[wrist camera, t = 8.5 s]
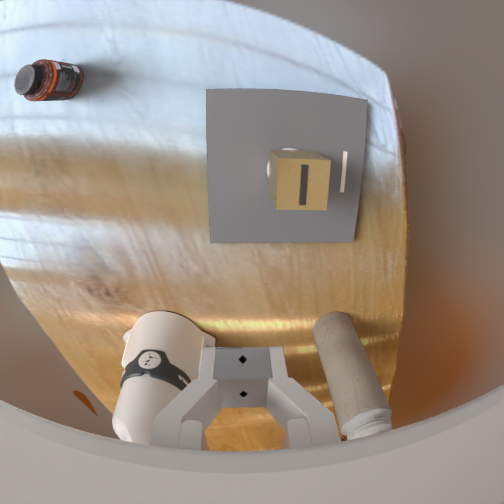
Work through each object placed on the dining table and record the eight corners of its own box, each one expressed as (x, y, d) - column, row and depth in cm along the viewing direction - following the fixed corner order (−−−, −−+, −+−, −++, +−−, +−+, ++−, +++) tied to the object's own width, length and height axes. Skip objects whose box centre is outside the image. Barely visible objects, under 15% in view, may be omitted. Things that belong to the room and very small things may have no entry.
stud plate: (349, 238, 44) (373, 267, 36) (211, 239, 43) (205, 270, 35) (363, 100, 34) (395, 98, 26) (207, 90, 33) (197, 82, 25)
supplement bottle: (83, 59, 29) (40, 49, 19) (85, 93, 31) (41, 91, 21) (53, 72, 29) (9, 69, 18) (55, 105, 31) (10, 109, 21)
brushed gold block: (309, 191, 38) (326, 211, 30) (268, 190, 37) (276, 210, 30) (311, 151, 35) (331, 160, 28) (269, 149, 35) (278, 158, 27)
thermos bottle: (337, 344, 55) (377, 463, 30) (305, 337, 53) (337, 468, 28) (358, 316, 52) (414, 438, 27) (325, 307, 50) (375, 443, 25)
